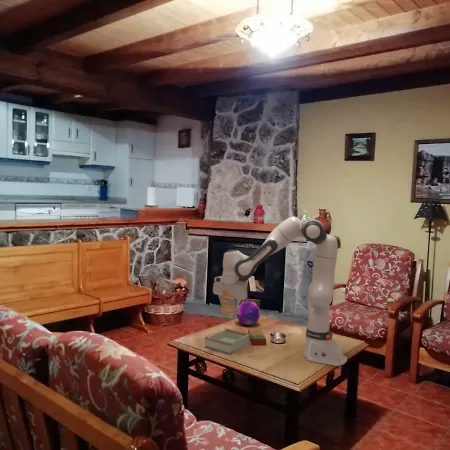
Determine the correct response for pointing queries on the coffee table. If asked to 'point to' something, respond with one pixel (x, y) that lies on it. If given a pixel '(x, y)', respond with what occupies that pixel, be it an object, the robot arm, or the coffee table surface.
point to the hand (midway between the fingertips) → (229, 304)
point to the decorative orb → (248, 313)
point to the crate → (227, 341)
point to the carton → (257, 338)
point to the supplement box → (229, 303)
